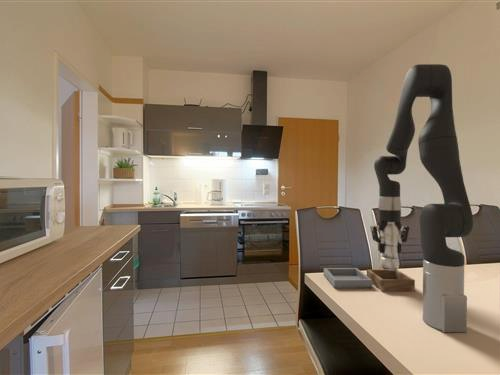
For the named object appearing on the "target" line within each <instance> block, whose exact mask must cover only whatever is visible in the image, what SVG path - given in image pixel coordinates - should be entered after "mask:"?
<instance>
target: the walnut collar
mask: <svg viewBox="0 0 500 375" xmlns="http://www.w3.org/2000/svg"><path fill="white" fill-rule="evenodd" d="M366 276H368V277H369V278H370V279H371V280H372V286H374V285H375V286H376V287H375V286H374V287H375V288H377V289H378V290H379V289H380V290H381V291H380V290H379V291H380V292H416V288H415V287H416V280H415V279H414V278H412V277H411V276H408V275H407V274H405V273H403V272H401V271H400V270H399V269H397V270H394V271H392V270H386V269H383V268H382V269H380V268H379V269H373V268H372V269H366Z"/></svg>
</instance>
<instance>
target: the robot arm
mask: <svg viewBox="0 0 500 375" xmlns="http://www.w3.org/2000/svg"><path fill="white" fill-rule="evenodd" d="M416 98H429V100H430V114H429V116H428V119H427V120H426V122H425V124H424V125H423V127H422V128H421V131H420V133H419V136H418V140H417V142H418V152H419V159H420V161H421V164H422V165H423V167H424V168H425V170H426V171H427V172H428V174H429V175H430V176H431V177H432V179H434V181H435V182H436V183H437V185H438V186H439V188H440V190H441V193H442V199H443V202H444V203H429V204H425V205H424V206H423V207H422V209H421V211H420V215H419V229H420V230H419V232H420V233H419V235H420V247H421V251H422V258H423V259H422V320H423V322H424V323H426V324H427V325H428V326H430V327H432V328H434V329H436V330H439V331H441V332H443V333H467V330H468V329H467V327H468V324H467V322H468V320H467V318H468V316H467V314H468V313H467V312H468V305H467V304H468V297H467V295H466V294H465V255H464V254H463V252H461V251H459V250H456V249H453V248H450V247H448V245H447V238H465V237H467V236H469V235H470V234H471V233H472V230H473V229H474V228H473V227H474V218H473V212H472V208H471V203H470V200H469V197H468V193H467V189H466V185H465V181H464V177H463V176H464V175H463V171H462V170H463V169H462V165H461V160H460V158H461V157H460V151H459V149H460V148H459V144H458V136H457V131H456V126H455V118H454V109H453V108H454V107H453V79H452V72H451V69H450V68H449V66H447V65H445V64H437V63H436V64H434V63H433V64H431V63H428V64H427V63H426V64H414V65H412V66H411V67H410V68H409V70H407V73H406V75H405V77H404V81H403V84H402V87H401V92H400V97H399V101H398V104H397V105H398V106H397V111H396V117H395V119H394V120H395V121H394V125H393V127H392V130H391V133H390V135H389V138H388V141H387V144H386V146H385V149H386V151H387V152H388V153H390V155H381V156H378V157H377V158H376V159H375V161H374V165H373V168H374V172H375V175H376V178H377V182H378V187H379V197H378V198H379V199H378V224H377V225H376V224H375V225H370V232H371V236H372V241H374V242H377V249H378V250H377V251H378V252H379V253H380V254H381V253H384V244H383V243H384V241H385V240H384V238H385V234H384V235H381V231H380V232H379V233H378V231H379V230H382V231H383V230H384V228H385V227H386V226H387V224H388V222H395V223H394V224H395V225H396V226H397V229H399V231H400V232H401V233H399V238H398V246H397V247H398V248H397V251H398V254H401V252H402V244H403V243H406V242H407V241H408V237H409V231H410V226H407V225H402V224H401V222H402V202H401V184H400V182H399V181H396V180H391V179H390V177H389V175H391V176H393V175H400V174H402V173H403V172H404V171H405V170H406V168H407V159H408V158H407V157H408V151H409V148H410V146H411V144H412V142H413V139H414V136H415V134H416V133H415V132H416V125H415V121H414V116H413V111H412V110H413V105H414V102H415V100H416ZM391 154H392V155H391ZM381 237H382V238H381Z"/></svg>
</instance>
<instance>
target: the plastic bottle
mask: <svg viewBox="0 0 500 375" xmlns="http://www.w3.org/2000/svg"><path fill="white" fill-rule="evenodd" d="M394 223H395V222H388V224H387V226H386V227H385V228H384V230H383V231H382V230H380V229H379V230H380V232H381V235H384V234H385V238H384V240H385V241H384V243H383V244H384V253H380V255H381V256H380V258H379V259H380V260H379V264H380V267H381V268H382V269H386V270H392V271H394V270H399V267H400V259H399V253H398V251H397V248H398V247H397V246H398V238H399V234H400V230H399V229H397V226H396V225H395V224H394ZM381 238H382V237H381Z"/></svg>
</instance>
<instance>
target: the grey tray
mask: <svg viewBox="0 0 500 375" xmlns="http://www.w3.org/2000/svg"><path fill="white" fill-rule="evenodd" d="M323 276H324V278H325V279H326V280H327V281H328V282H329V284H330V285H331V286H332V288H334V289H372V288H373V284H372V280H371V279H370V278H369V277H368V276H367V274H365V273H364V272H363V271H361V270H360V269H359V268H358V267H328V268H327V267H324V268H323Z"/></svg>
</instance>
